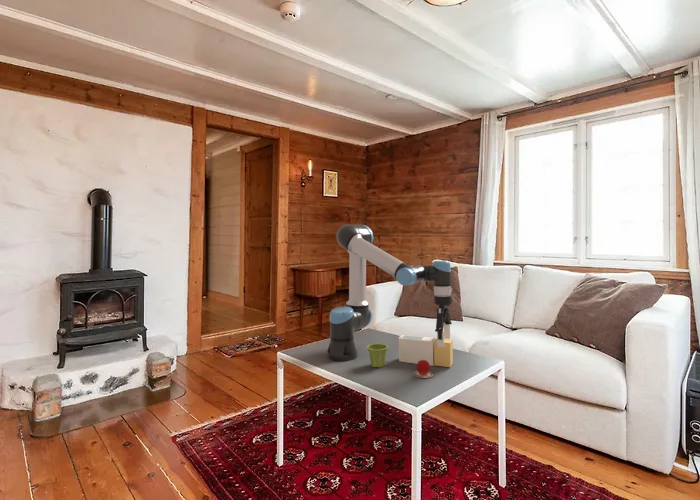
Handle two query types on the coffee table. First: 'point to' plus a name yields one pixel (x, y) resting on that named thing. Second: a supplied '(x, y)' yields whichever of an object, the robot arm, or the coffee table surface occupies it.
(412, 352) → the white box
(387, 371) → the coffee table surface
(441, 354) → the stub
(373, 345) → the plant pot
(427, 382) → the coffee table surface
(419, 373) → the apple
